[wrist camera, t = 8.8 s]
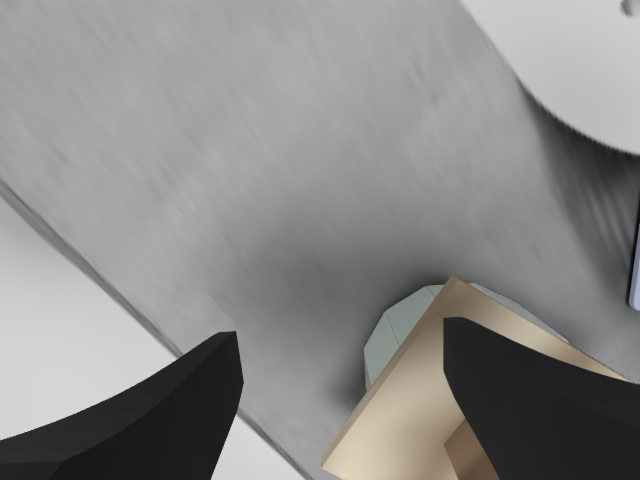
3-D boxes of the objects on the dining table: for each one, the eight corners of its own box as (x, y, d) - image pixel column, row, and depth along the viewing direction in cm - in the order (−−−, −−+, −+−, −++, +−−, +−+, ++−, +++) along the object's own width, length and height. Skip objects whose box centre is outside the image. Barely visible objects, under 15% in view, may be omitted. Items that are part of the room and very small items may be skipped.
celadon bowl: (536, 275, 20) (601, 309, 16) (526, 424, 23) (579, 495, 18) (359, 287, 21) (369, 325, 16) (367, 433, 23) (378, 504, 18)
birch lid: (648, 391, 17) (775, 480, 12) (500, 545, 19) (557, 670, 14) (452, 273, 15) (506, 322, 11) (321, 454, 18) (319, 558, 13)
